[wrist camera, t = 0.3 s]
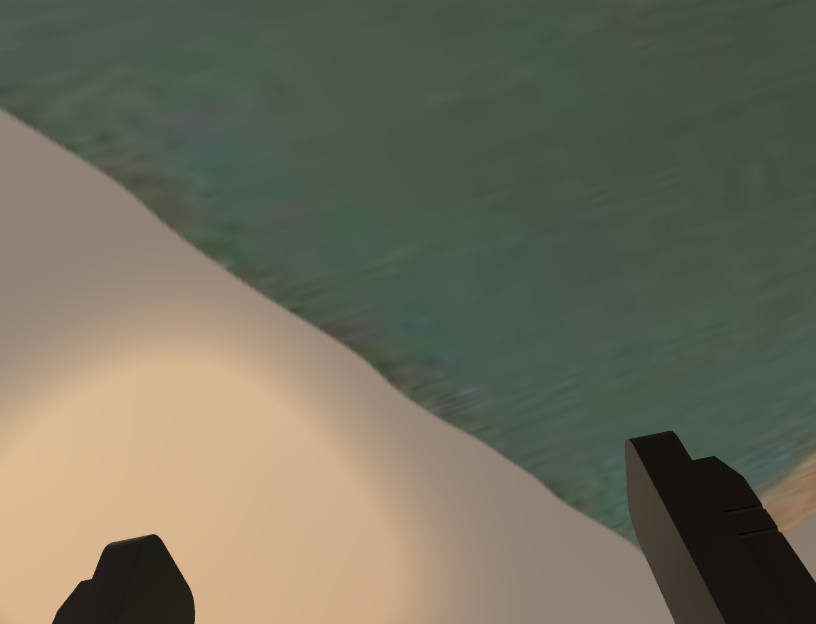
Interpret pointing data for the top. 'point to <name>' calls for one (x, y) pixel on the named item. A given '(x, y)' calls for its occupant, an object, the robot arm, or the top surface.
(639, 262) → the top surface
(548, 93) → the top surface
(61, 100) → the top surface
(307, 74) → the top surface
